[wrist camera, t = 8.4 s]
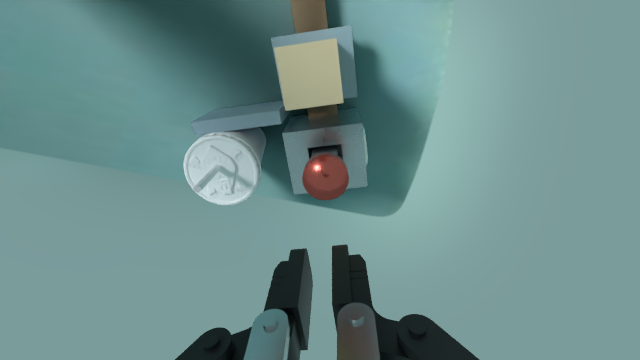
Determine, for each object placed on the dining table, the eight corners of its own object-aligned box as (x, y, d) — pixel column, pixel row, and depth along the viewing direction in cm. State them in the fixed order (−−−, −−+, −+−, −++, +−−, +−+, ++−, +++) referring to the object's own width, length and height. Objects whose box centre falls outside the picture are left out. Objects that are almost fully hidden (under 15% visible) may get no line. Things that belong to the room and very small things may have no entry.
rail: (300, 115, 33) (298, 120, 30) (270, -68, 26) (265, -78, 24) (347, 109, 32) (348, 113, 30) (327, -78, 26) (327, -90, 24)
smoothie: (269, 105, 32) (228, 144, 19) (284, 161, 35) (257, 227, 22) (213, 117, 33) (138, 162, 20) (232, 171, 36) (176, 240, 23)
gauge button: (311, 169, 31) (306, 202, 24) (306, 135, 29) (298, 160, 23) (346, 165, 30) (351, 197, 24) (342, 130, 29) (346, 154, 22)
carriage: (217, 120, 33) (164, 154, 22) (198, 51, 30) (127, 53, 20) (355, 101, 31) (368, 128, 21) (349, 27, 29) (359, 16, 18)
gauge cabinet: (300, 167, 35) (293, 194, 29) (291, 116, 33) (282, 133, 26) (363, 160, 34) (371, 186, 28) (359, 107, 32) (366, 122, 26)
